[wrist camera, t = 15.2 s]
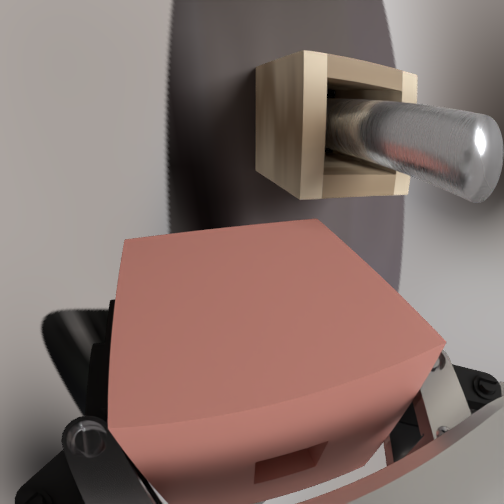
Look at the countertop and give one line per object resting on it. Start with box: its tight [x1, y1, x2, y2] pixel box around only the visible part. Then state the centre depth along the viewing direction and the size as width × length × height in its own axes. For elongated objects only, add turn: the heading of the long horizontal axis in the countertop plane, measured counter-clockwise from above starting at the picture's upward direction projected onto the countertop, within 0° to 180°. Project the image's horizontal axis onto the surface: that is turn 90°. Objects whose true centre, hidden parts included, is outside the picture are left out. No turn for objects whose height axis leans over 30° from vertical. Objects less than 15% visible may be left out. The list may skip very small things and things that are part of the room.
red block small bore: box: [108, 219, 446, 504], centre depth 8 cm, size 6×6×6 cm
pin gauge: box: [325, 98, 503, 203], centre depth 12 cm, size 3×3×12 cm
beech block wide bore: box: [255, 50, 417, 200], centre depth 14 cm, size 6×6×6 cm
